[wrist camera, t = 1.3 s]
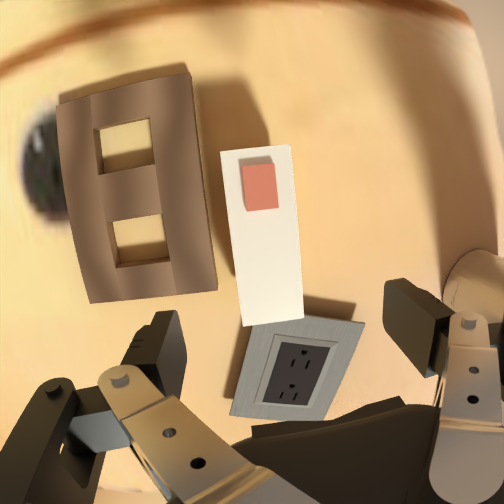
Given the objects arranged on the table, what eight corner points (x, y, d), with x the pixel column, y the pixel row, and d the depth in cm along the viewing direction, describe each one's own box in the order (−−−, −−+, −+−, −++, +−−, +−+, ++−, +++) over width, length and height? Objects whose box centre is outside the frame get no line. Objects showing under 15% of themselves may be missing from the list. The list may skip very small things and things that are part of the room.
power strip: (275, 148, 26) (291, 143, 19) (288, 285, 29) (305, 321, 22) (222, 154, 26) (219, 151, 19) (239, 291, 29) (243, 330, 22)
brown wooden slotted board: (191, 77, 23) (189, 72, 22) (218, 283, 28) (217, 290, 27) (63, 108, 23) (55, 106, 22) (95, 297, 28) (90, 303, 27)
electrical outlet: (255, 298, 30) (258, 309, 27) (358, 314, 31) (366, 325, 29) (229, 402, 33) (229, 417, 31) (318, 410, 34) (322, 424, 32)
